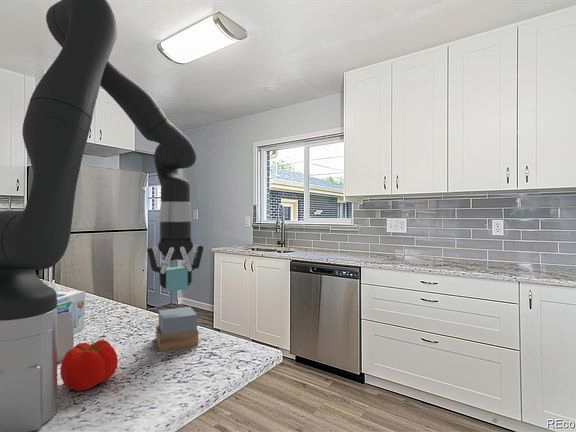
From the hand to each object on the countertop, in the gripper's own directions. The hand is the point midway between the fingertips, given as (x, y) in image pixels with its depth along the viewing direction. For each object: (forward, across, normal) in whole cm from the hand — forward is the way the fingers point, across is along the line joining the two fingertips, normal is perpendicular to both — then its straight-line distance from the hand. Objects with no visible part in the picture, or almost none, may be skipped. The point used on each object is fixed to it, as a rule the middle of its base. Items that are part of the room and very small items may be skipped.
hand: (175, 286), depth 85 cm
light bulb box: (+14, -27, +20) cm, 37 cm away
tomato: (+14, -18, -14) cm, 27 cm away
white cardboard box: (+14, -26, +2) cm, 30 cm away
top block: (+11, 0, -1) cm, 11 cm away
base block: (+15, 0, 0) cm, 15 cm away
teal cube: (0, 0, 0) cm, 0 cm away
